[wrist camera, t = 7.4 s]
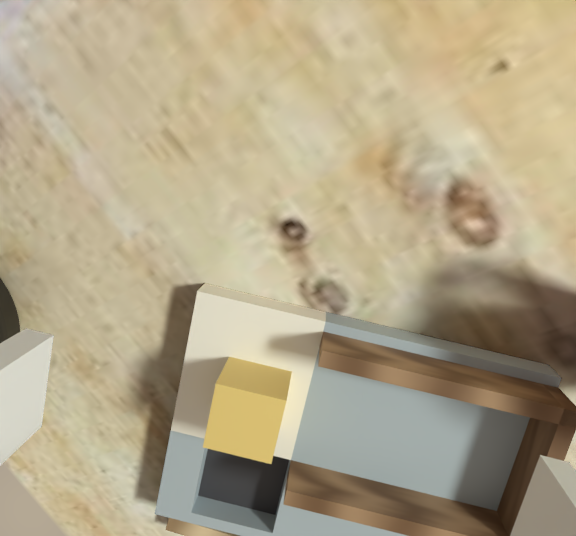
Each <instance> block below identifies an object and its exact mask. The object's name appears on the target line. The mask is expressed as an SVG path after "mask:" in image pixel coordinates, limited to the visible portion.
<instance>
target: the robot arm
mask: <svg viewBox="0 0 576 536" xmlns="http://www.w3.org/2000/svg"><path fill="white" fill-rule="evenodd" d="M53 337H54V335H51V334H47V333H43V332H39V331H35V330H31V329H27V328H26V329H24V330H22V331H21V332H20V325H19V319H18V314H17V311H16V307H15V305H14V302H13V300H12V297H11V295H10V293H9V291H8V289H7V288H6V286H5V285H4V283H3V281H2V280H1V279H0V465H2V464H3V463H4V462H5V461H6V460H7V459H8V458H9V457H10V456H11V455H12V454H13V453H14V452H15V451H16V450H17V449H18V448H19V447H20V446H22V445H23V444H24V443H25V442H26V441H27V440H28V439H29V438H30V437H31V436H32V435H33V434H34V433H35V432H36V431H37V430H38V429H39V428H41V427H42V420H43V412H44V405H45V397H46V389H47V382H48V374H49V367H50V359H51V352H52V344H53ZM510 536H576V470H575V469H574V468H573V466H572V465H571V464H570V462H567V461H562V460H558V459H554V458H550V457H546V456H542V455H540V457H539V459H538V462H537V465H536V467H535V470H534V473H533V476H532V478H531V481H530V484H529V486H528V489H527V492H526V494H525V497H524V500H523V502H522V505H521V508H520V510H519V513H518V516H517V518H516V521H515V524H514V526H513V529H512V532H511V535H510Z"/></svg>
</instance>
